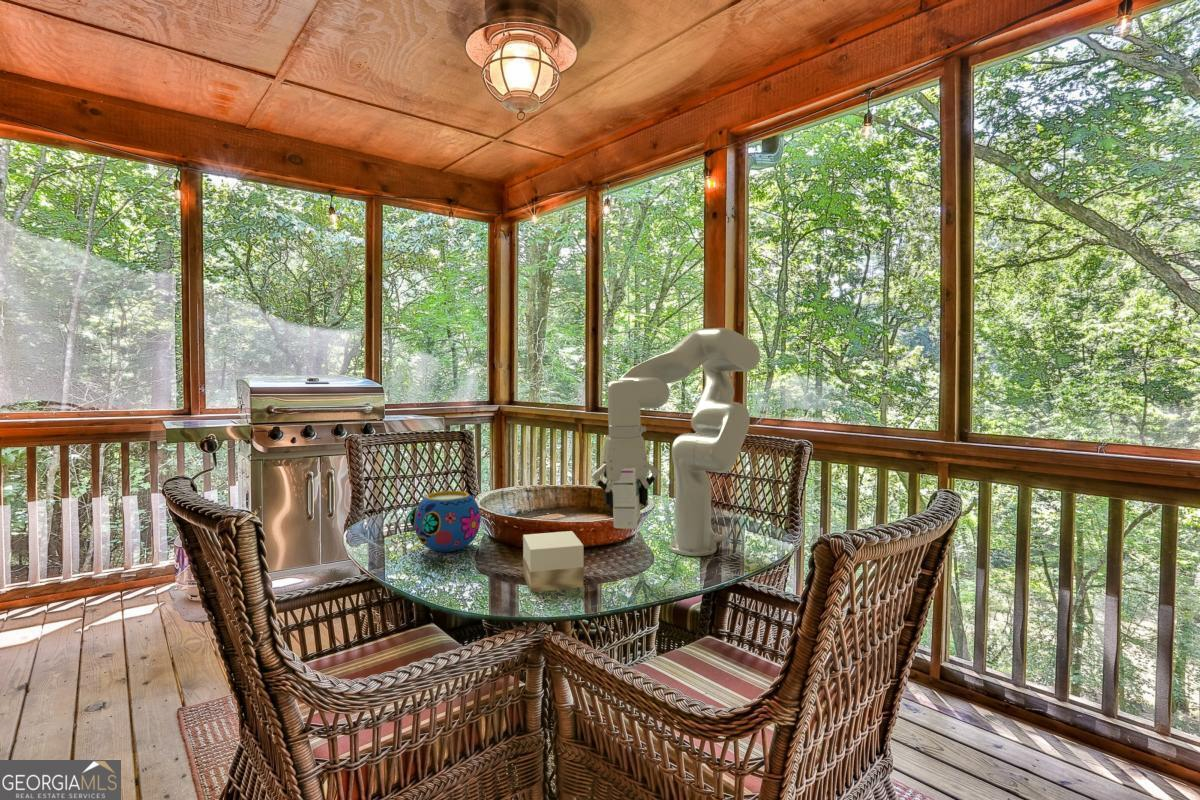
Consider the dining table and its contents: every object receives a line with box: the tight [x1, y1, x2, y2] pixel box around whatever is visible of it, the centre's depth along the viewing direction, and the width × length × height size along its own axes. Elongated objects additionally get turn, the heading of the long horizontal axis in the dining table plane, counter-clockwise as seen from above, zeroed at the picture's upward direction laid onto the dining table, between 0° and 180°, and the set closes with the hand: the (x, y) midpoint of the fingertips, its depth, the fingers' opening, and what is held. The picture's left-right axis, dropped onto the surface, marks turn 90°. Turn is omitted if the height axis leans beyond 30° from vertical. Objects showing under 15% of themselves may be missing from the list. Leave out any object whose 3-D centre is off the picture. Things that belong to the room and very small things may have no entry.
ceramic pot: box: [408, 490, 482, 553], centre depth 162 cm, size 18×18×15 cm
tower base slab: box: [522, 555, 584, 594], centre depth 138 cm, size 12×12×5 cm
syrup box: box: [611, 467, 642, 530], centre depth 140 cm, size 6×6×14 cm
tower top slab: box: [522, 530, 585, 572], centre depth 138 cm, size 12×12×5 cm
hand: (626, 505), depth 140 cm, fingers closed on syrup box, 7 cm apart
